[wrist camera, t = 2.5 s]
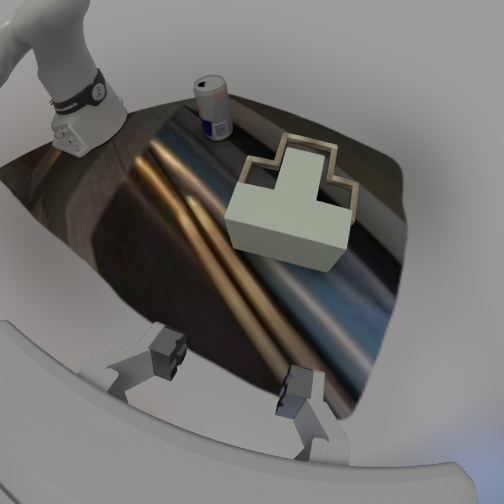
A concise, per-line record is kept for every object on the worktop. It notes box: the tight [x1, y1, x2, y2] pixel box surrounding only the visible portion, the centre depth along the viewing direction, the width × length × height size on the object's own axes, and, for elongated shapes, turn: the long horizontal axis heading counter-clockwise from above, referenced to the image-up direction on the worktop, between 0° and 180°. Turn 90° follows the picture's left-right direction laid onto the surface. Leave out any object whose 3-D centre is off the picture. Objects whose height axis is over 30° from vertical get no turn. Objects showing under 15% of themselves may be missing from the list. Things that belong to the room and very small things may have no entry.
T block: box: [224, 147, 352, 273], centre depth 36 cm, size 14×12×10 cm
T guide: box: [238, 132, 359, 225], centre depth 43 cm, size 19×14×1 cm
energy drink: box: [194, 75, 233, 141], centre depth 42 cm, size 5×5×12 cm
